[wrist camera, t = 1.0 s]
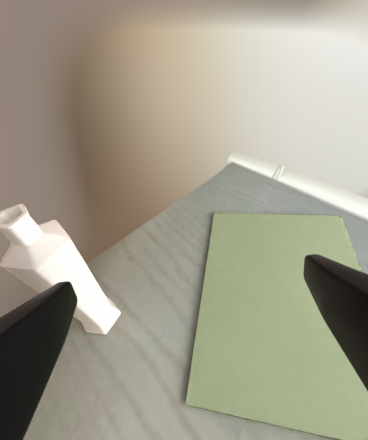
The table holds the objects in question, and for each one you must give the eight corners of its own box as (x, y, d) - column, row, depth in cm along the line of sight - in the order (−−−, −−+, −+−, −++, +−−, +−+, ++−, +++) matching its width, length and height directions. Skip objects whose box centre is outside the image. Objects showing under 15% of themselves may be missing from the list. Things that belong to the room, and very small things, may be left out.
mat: (429, 460, 15) (433, 460, 15) (185, 405, 19) (185, 404, 18) (339, 218, 30) (340, 215, 30) (214, 214, 34) (214, 212, 33)
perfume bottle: (100, 290, 27) (20, 186, 17) (129, 305, 25) (59, 199, 15) (71, 326, 25) (-47, 230, 14) (101, 347, 23) (-10, 253, 12)
